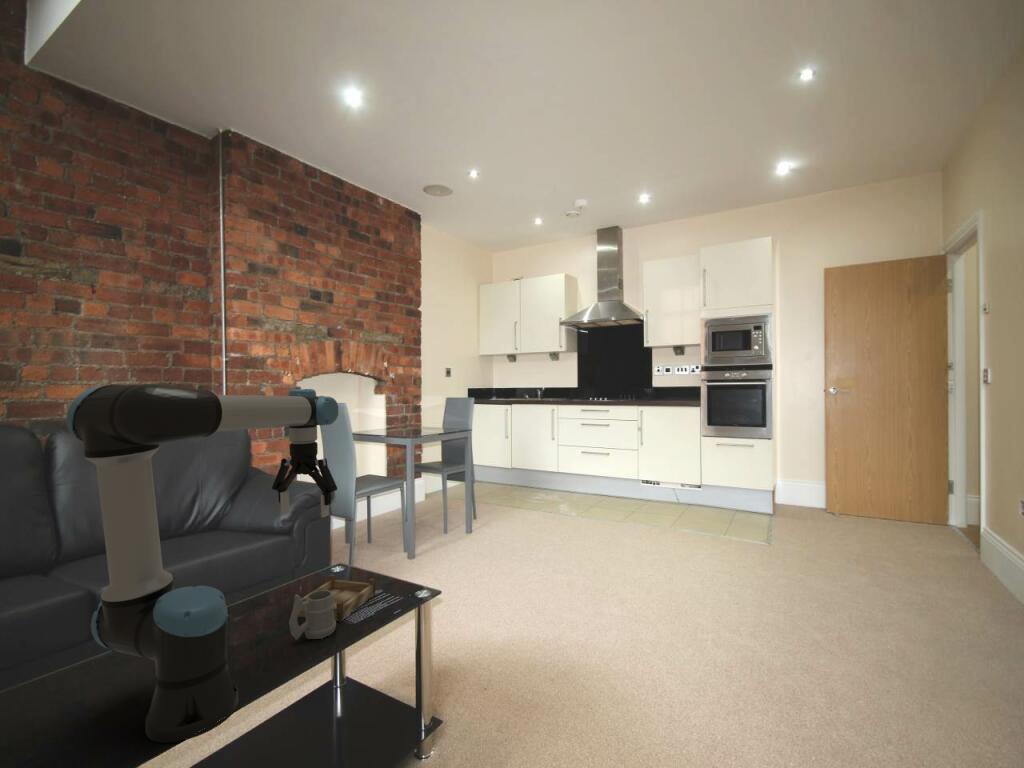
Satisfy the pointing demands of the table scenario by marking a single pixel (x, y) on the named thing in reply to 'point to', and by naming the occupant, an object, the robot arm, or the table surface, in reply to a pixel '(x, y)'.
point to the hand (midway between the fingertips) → (304, 515)
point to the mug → (314, 615)
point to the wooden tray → (345, 595)
